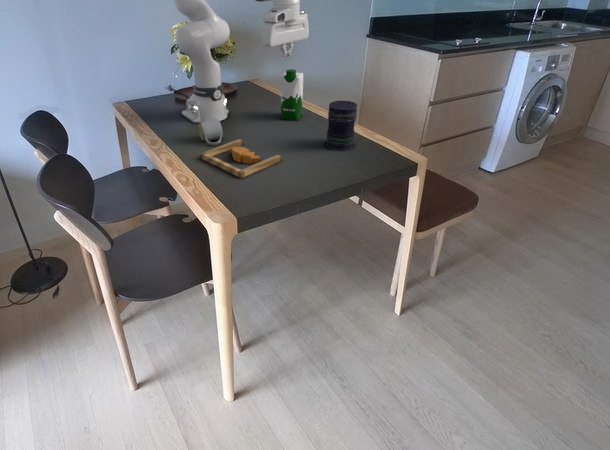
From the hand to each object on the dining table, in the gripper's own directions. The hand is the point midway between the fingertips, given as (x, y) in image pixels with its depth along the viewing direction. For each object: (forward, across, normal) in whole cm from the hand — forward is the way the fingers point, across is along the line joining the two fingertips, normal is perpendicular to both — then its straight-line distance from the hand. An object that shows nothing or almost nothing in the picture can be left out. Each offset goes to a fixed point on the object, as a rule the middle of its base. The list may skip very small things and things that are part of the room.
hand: (286, 56), depth 147 cm
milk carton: (+29, -16, -12) cm, 36 cm away
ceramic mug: (+29, +24, -16) cm, 41 cm away
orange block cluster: (+29, +28, +5) cm, 40 cm away
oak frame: (+29, +28, +5) cm, 41 cm away
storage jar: (+29, -6, +22) cm, 37 cm away
